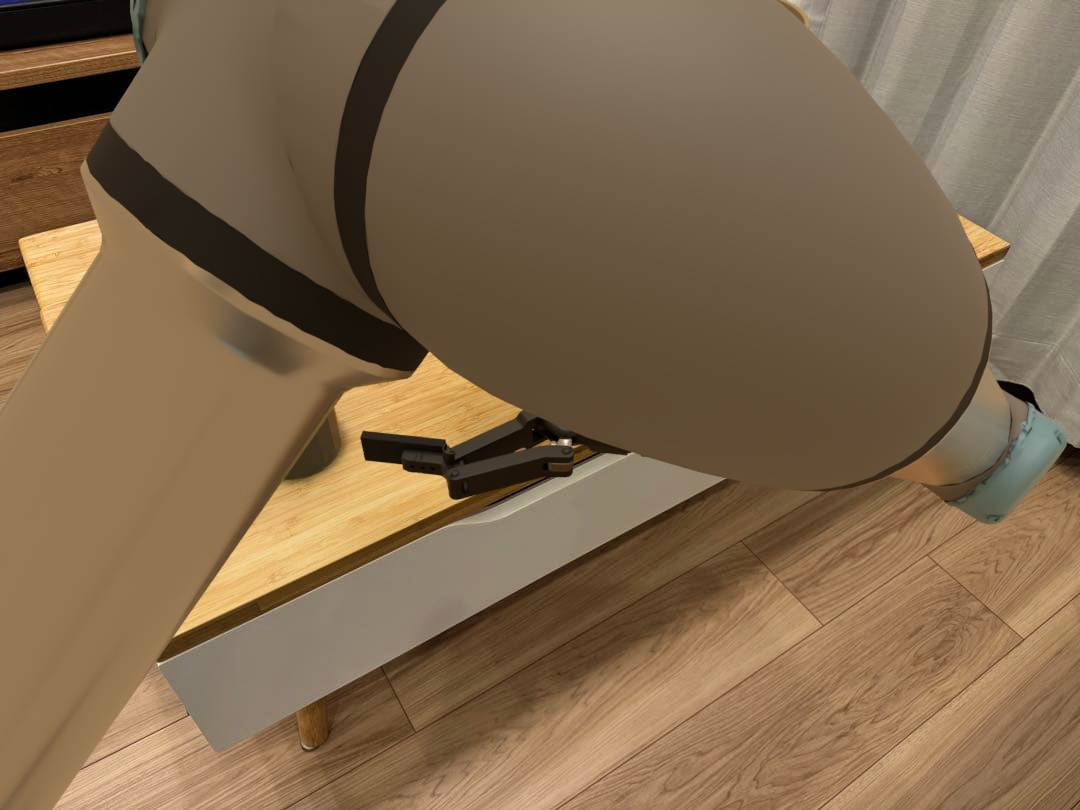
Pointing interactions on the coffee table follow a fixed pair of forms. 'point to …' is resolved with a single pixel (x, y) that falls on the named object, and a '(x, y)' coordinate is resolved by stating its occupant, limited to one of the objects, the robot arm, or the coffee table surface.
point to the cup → (318, 450)
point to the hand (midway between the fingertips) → (385, 385)
